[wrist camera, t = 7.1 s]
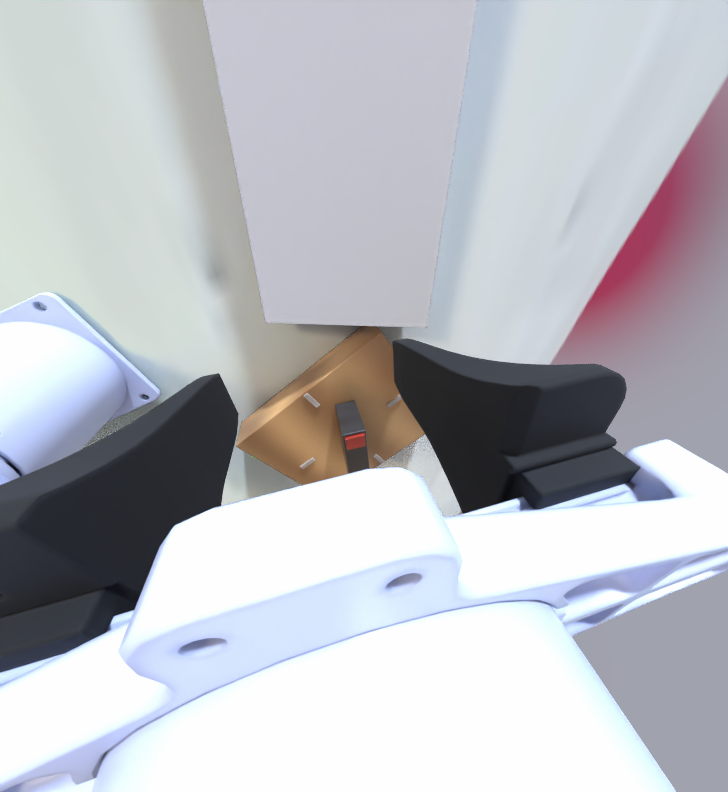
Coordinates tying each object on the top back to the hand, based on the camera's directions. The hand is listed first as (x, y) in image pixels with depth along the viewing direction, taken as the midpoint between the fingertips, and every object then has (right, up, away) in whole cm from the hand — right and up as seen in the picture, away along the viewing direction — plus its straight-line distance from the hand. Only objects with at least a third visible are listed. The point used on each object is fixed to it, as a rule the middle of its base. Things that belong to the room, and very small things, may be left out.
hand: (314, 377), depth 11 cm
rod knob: (+1, -4, +11) cm, 11 cm away
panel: (0, -2, +13) cm, 13 cm away
